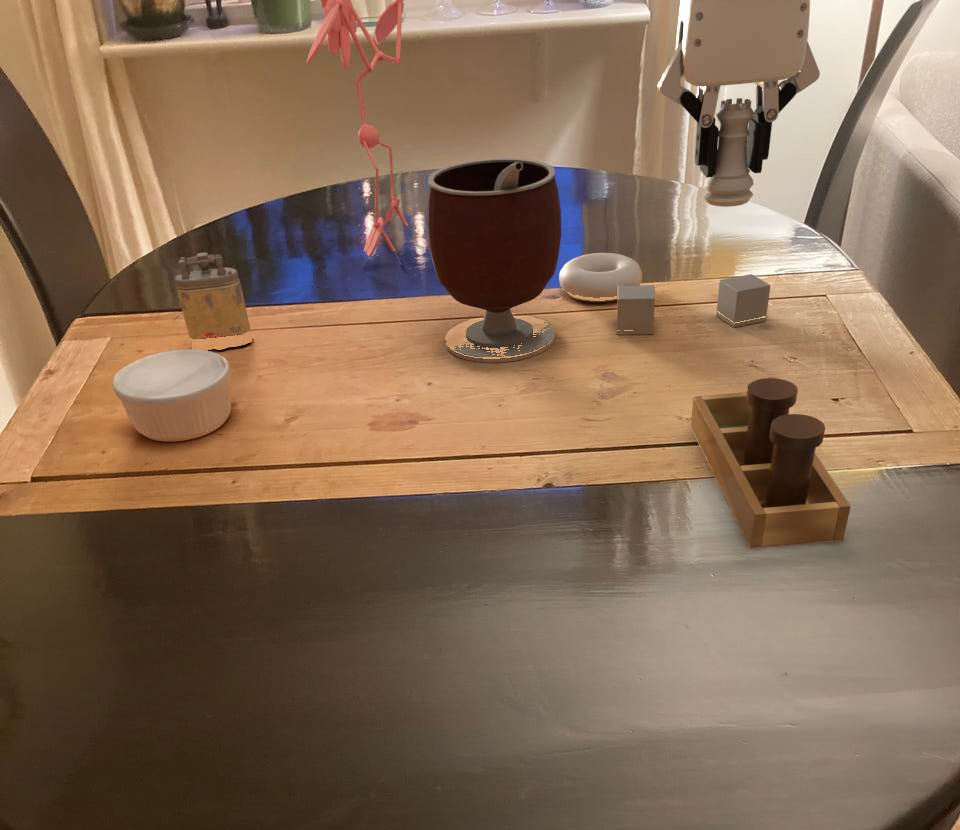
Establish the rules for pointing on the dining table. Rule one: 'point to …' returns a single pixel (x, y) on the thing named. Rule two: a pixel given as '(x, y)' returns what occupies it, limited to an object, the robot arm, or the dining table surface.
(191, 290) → the lighter
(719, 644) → the dining table surface
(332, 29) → the figurine
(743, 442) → the rack
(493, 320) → the mate gourd
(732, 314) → the grey block
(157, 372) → the ramekin
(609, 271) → the donut
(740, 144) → the rook chess piece
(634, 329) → the grey block
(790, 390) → the walnut rook
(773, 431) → the walnut rook
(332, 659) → the dining table surface
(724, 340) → the dining table surface
